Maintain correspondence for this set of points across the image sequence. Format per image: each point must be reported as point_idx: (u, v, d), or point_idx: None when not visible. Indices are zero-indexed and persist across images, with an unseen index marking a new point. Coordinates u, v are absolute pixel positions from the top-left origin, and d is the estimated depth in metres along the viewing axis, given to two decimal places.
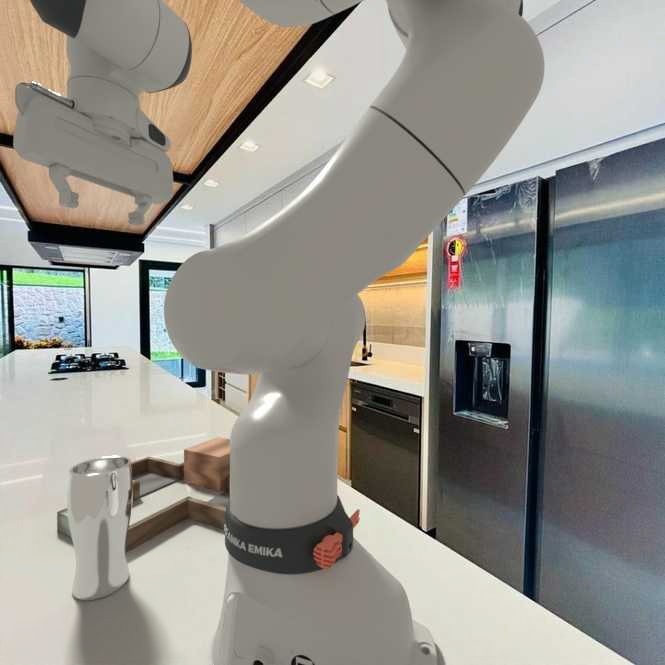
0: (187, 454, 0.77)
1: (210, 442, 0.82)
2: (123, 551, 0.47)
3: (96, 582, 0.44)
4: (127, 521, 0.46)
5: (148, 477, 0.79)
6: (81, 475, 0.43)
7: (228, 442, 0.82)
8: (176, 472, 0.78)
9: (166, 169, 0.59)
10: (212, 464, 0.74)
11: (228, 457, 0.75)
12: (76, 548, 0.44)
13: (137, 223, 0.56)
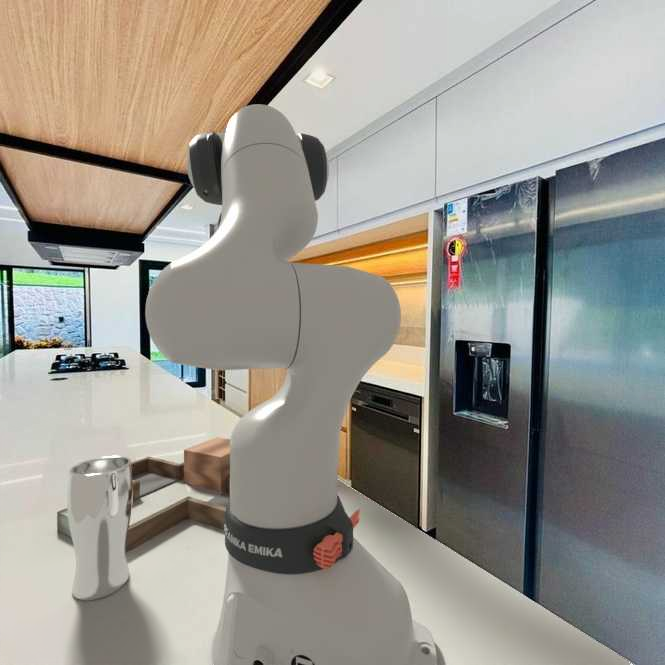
0: (187, 454, 0.77)
1: (210, 442, 0.82)
2: (123, 551, 0.47)
3: (96, 582, 0.44)
4: (127, 521, 0.46)
5: (148, 477, 0.79)
6: (81, 475, 0.43)
7: (228, 442, 0.82)
8: (176, 472, 0.78)
9: None
10: (213, 464, 0.74)
11: (229, 457, 0.75)
12: (76, 548, 0.44)
13: None
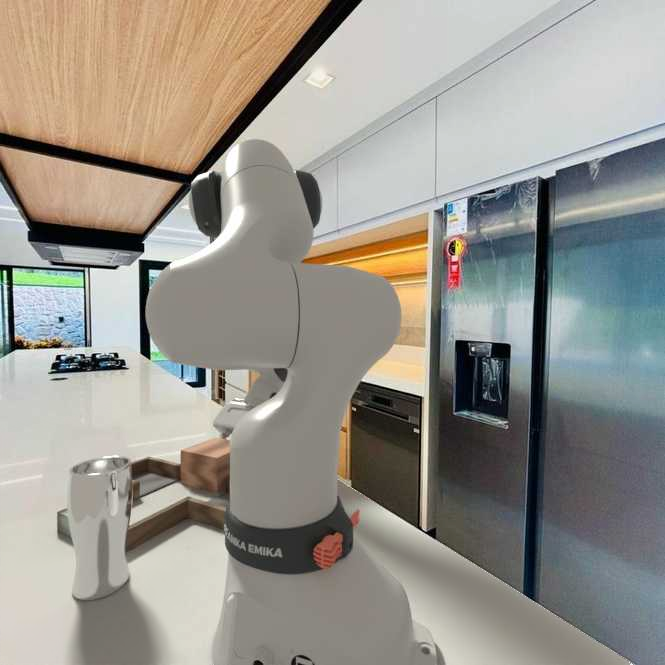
0: (184, 455, 0.76)
1: (207, 443, 0.81)
2: (123, 551, 0.47)
3: (96, 582, 0.44)
4: (127, 521, 0.46)
5: (148, 477, 0.79)
6: (81, 475, 0.43)
7: (225, 443, 0.81)
8: (176, 472, 0.78)
9: None
10: (209, 464, 0.73)
11: (225, 458, 0.74)
12: (76, 548, 0.44)
13: None
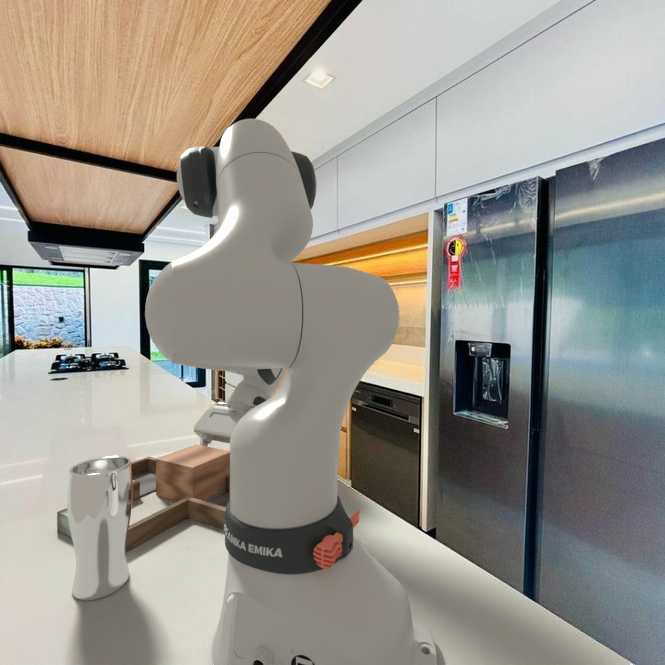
0: (159, 464, 0.71)
1: (186, 450, 0.76)
2: (123, 551, 0.47)
3: (96, 582, 0.44)
4: (127, 521, 0.46)
5: (148, 477, 0.79)
6: (81, 475, 0.43)
7: (205, 450, 0.76)
8: None
9: None
10: (185, 475, 0.68)
11: (202, 467, 0.69)
12: (76, 548, 0.44)
13: None
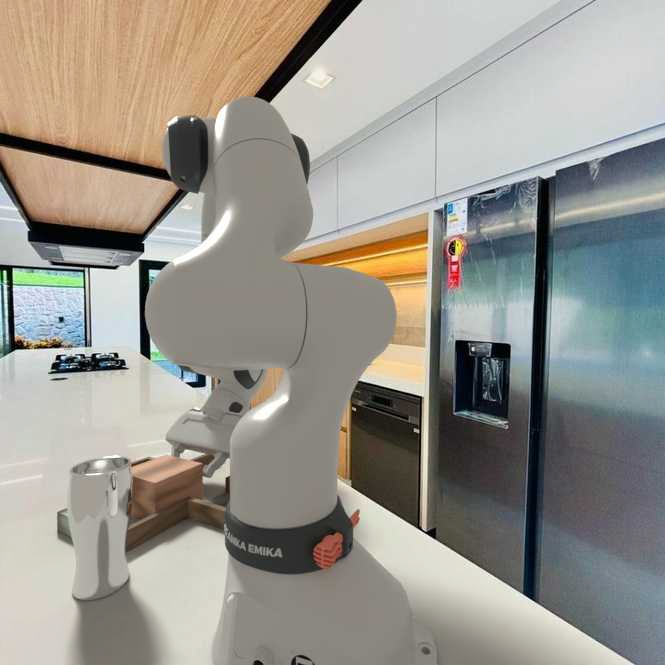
0: None
1: (153, 462, 0.69)
2: (123, 551, 0.47)
3: (96, 582, 0.44)
4: (127, 521, 0.46)
5: None
6: (81, 475, 0.43)
7: (174, 462, 0.69)
8: None
9: None
10: (147, 490, 0.61)
11: (167, 482, 0.62)
12: (76, 548, 0.44)
13: (203, 474, 0.69)
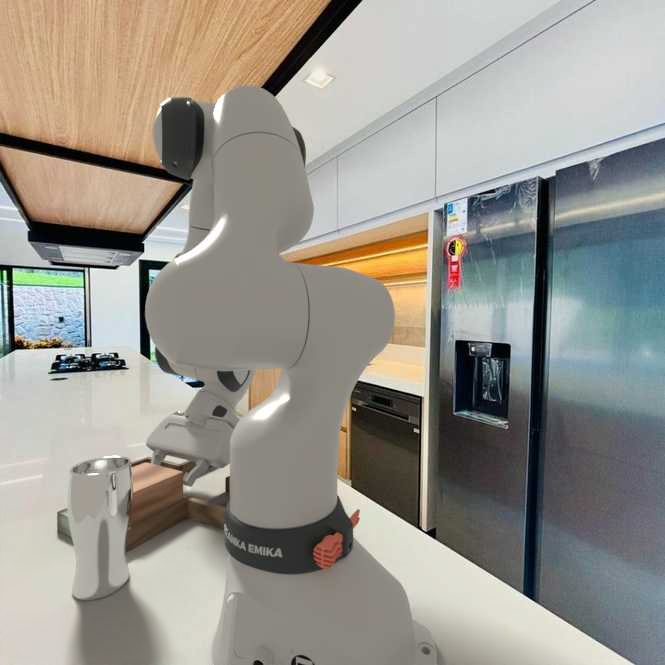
0: None
1: None
2: (123, 551, 0.47)
3: (96, 582, 0.44)
4: (127, 521, 0.46)
5: None
6: (81, 475, 0.43)
7: (153, 470, 0.65)
8: None
9: (221, 434, 0.68)
10: None
11: (143, 493, 0.58)
12: (76, 548, 0.44)
13: (183, 482, 0.65)
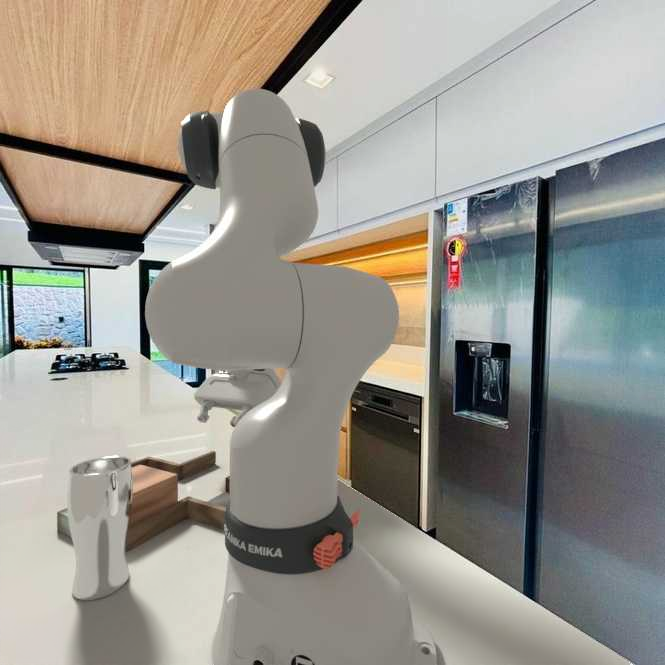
0: None
1: None
2: (123, 551, 0.47)
3: (96, 582, 0.44)
4: (127, 521, 0.46)
5: None
6: (81, 475, 0.43)
7: (147, 473, 0.64)
8: (176, 472, 0.78)
9: (263, 384, 0.80)
10: None
11: (137, 496, 0.57)
12: (76, 548, 0.44)
13: (232, 424, 0.76)
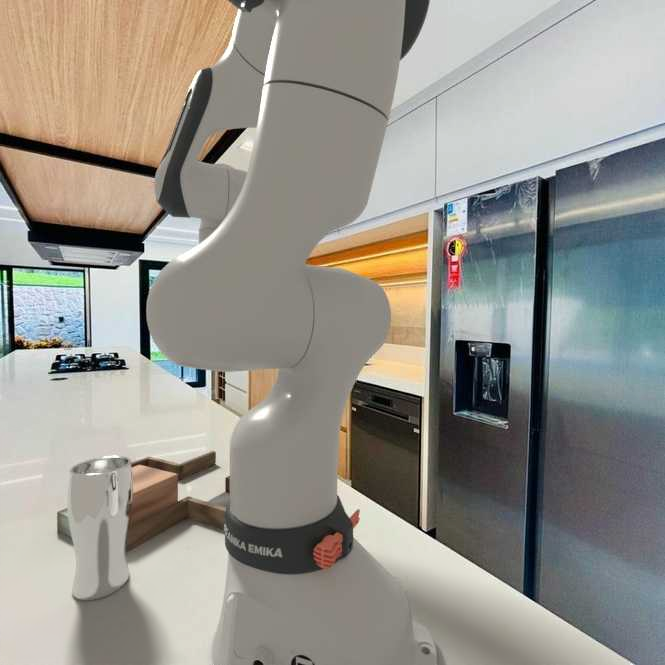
0: None
1: None
2: (123, 551, 0.47)
3: (96, 582, 0.44)
4: (127, 521, 0.46)
5: None
6: (81, 475, 0.43)
7: (147, 473, 0.64)
8: (176, 472, 0.78)
9: None
10: None
11: (138, 496, 0.57)
12: (76, 548, 0.44)
13: None
